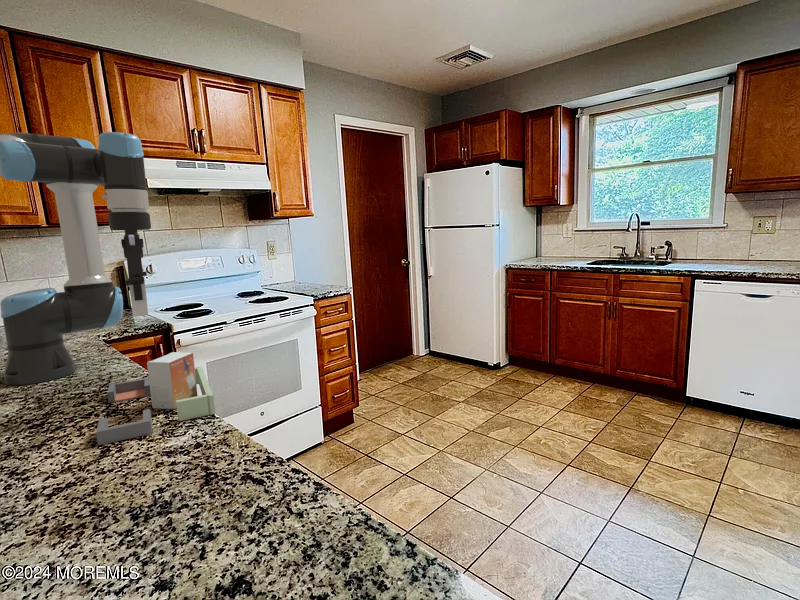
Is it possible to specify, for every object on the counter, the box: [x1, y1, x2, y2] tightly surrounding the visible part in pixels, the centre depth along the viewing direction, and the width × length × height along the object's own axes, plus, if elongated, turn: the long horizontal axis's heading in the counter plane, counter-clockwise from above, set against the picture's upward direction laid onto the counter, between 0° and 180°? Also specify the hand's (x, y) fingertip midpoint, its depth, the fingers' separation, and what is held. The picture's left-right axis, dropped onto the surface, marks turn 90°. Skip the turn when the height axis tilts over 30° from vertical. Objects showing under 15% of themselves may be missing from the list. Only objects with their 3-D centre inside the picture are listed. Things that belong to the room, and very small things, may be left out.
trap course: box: [95, 366, 216, 446], centre depth 95 cm, size 30×20×4 cm
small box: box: [146, 351, 198, 410], centre depth 96 cm, size 8×6×10 cm
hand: (140, 310), depth 95 cm, fingers open, 13 cm apart
